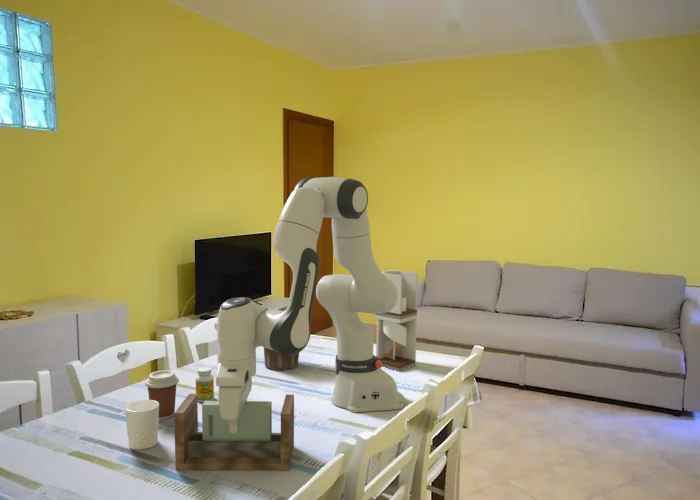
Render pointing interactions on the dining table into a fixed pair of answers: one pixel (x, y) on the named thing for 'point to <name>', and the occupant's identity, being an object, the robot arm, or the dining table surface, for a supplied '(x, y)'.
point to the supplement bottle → (204, 385)
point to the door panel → (250, 422)
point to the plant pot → (279, 360)
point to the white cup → (142, 423)
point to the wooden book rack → (231, 444)
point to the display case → (399, 324)
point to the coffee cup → (163, 391)
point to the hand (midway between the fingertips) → (237, 423)
